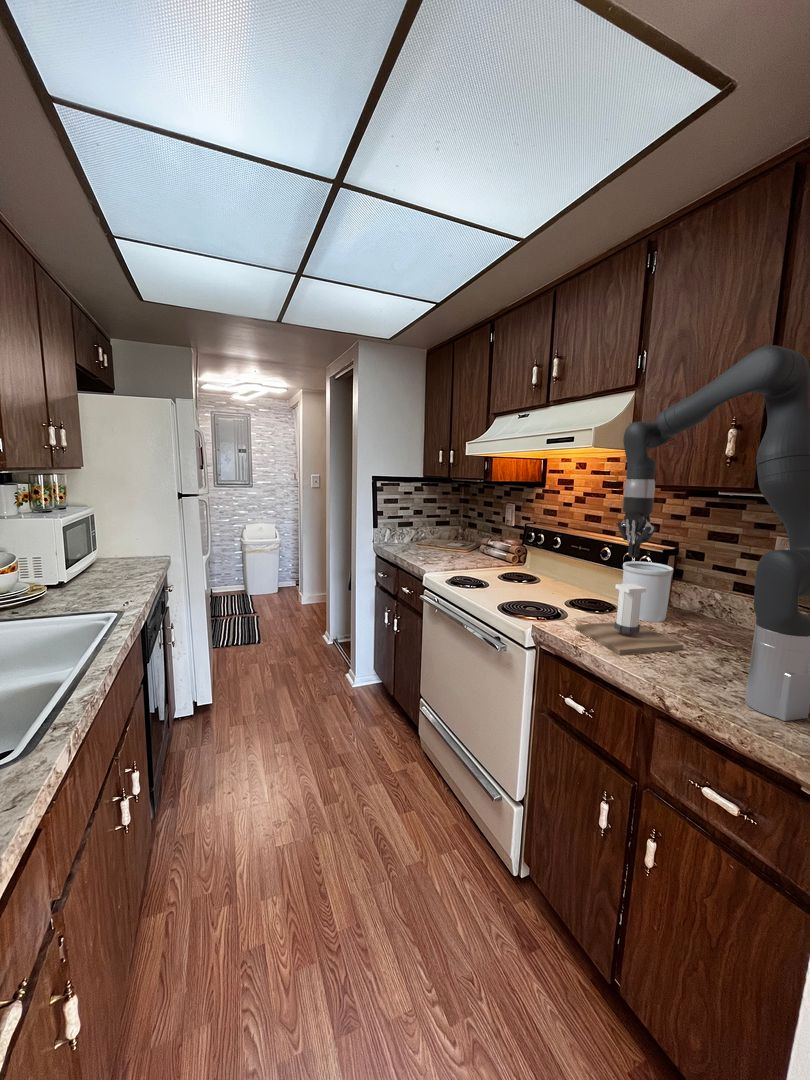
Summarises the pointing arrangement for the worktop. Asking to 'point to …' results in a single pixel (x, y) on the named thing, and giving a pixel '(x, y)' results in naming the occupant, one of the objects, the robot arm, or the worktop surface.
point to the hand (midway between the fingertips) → (633, 556)
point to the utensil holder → (650, 587)
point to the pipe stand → (628, 639)
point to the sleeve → (629, 604)
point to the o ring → (627, 628)
